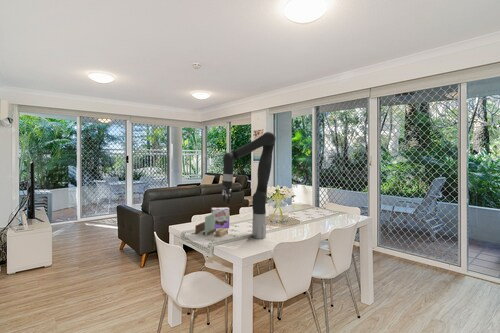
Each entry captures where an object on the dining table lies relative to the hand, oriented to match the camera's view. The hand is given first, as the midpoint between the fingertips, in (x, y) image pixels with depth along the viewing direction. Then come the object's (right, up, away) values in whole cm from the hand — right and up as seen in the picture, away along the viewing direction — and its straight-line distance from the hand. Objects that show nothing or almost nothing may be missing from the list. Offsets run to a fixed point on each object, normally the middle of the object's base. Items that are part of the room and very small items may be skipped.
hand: (225, 202), depth 204 cm
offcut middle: (-3, -23, -4) cm, 23 cm away
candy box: (-6, -23, +15) cm, 28 cm away
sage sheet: (-12, -23, -1) cm, 26 cm away
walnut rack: (-15, -23, 0) cm, 27 cm away
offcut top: (-3, -21, -4) cm, 21 cm away
